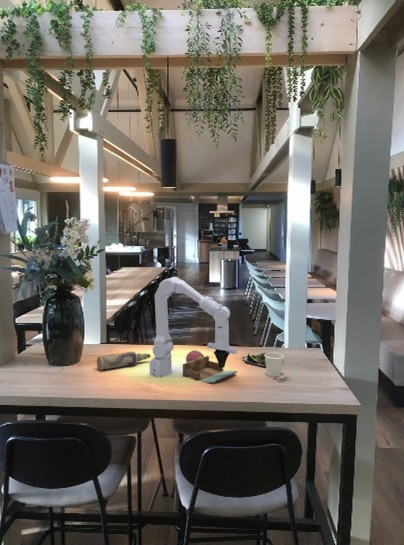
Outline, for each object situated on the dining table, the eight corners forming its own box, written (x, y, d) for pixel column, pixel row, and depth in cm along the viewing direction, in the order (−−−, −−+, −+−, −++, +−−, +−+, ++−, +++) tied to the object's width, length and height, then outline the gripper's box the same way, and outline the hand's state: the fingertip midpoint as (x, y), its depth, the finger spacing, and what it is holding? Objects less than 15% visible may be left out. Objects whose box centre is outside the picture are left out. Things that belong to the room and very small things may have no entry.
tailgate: (201, 382, 182) (214, 382, 177) (200, 380, 182) (214, 380, 177) (225, 373, 194) (238, 372, 189) (224, 371, 194) (238, 370, 189)
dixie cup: (269, 381, 185) (269, 358, 184) (261, 375, 193) (261, 353, 192) (286, 379, 187) (287, 357, 186) (278, 373, 195) (278, 351, 194)
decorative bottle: (101, 372, 198) (100, 358, 197) (96, 368, 204) (96, 354, 204) (153, 363, 210) (153, 350, 210) (147, 359, 217) (147, 346, 216)
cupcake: (203, 353, 208) (207, 347, 197) (202, 371, 205) (206, 366, 194) (185, 351, 207) (188, 345, 197) (184, 369, 204) (186, 364, 193)
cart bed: (198, 384, 182) (198, 369, 181) (181, 379, 189) (181, 364, 188) (225, 373, 195) (225, 359, 194) (208, 369, 202) (208, 355, 201)
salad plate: (262, 354, 226) (262, 345, 226) (291, 361, 214) (291, 352, 213) (237, 362, 213) (237, 353, 213) (266, 370, 200) (266, 360, 200)
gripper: (241, 336, 181) (241, 368, 182) (214, 331, 191) (214, 361, 192) (231, 340, 176) (231, 372, 177) (204, 334, 185) (204, 365, 187)
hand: (221, 367), depth 184 cm, fingers closed
